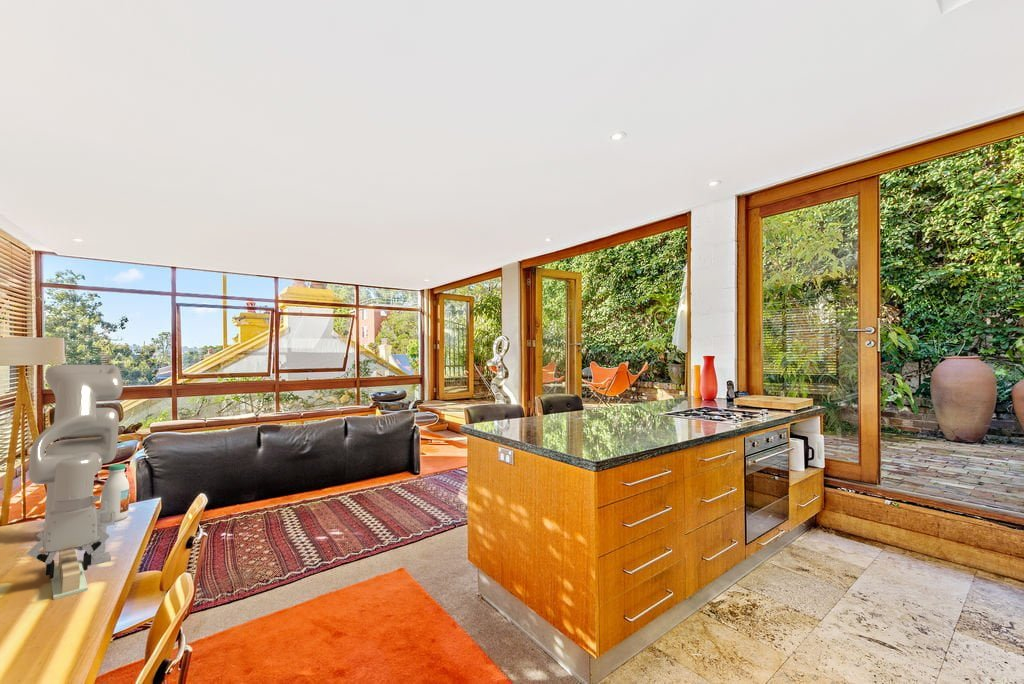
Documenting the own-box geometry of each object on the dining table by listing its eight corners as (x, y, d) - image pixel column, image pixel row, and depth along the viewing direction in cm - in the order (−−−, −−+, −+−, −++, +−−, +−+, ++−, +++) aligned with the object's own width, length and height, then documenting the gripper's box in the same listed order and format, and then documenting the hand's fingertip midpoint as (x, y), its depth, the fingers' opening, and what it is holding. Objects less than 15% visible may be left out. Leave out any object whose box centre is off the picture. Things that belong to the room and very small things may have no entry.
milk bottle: (110, 523, 154) (114, 467, 155) (93, 522, 156) (97, 466, 157) (133, 516, 162) (136, 463, 163) (117, 515, 163) (120, 462, 164)
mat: (50, 569, 120) (50, 567, 120) (80, 562, 124) (80, 560, 124) (53, 599, 105) (53, 596, 105) (87, 589, 109) (87, 587, 109)
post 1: (78, 546, 135) (81, 503, 136) (104, 540, 140) (107, 499, 140) (80, 550, 132) (82, 507, 133) (106, 544, 136) (109, 502, 137)
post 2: (83, 561, 125) (86, 515, 125) (111, 554, 129) (113, 510, 130) (84, 566, 121) (87, 519, 122) (113, 559, 126) (115, 514, 127)
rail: (58, 565, 121) (59, 551, 121) (73, 562, 123) (74, 547, 123) (62, 593, 106) (63, 577, 106) (79, 588, 108) (80, 572, 109)
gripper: (114, 494, 124) (110, 558, 123) (25, 508, 112) (19, 580, 111) (117, 499, 119) (113, 566, 118) (24, 515, 107) (19, 590, 106)
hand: (68, 572), depth 114 cm, fingers open, 5 cm apart
